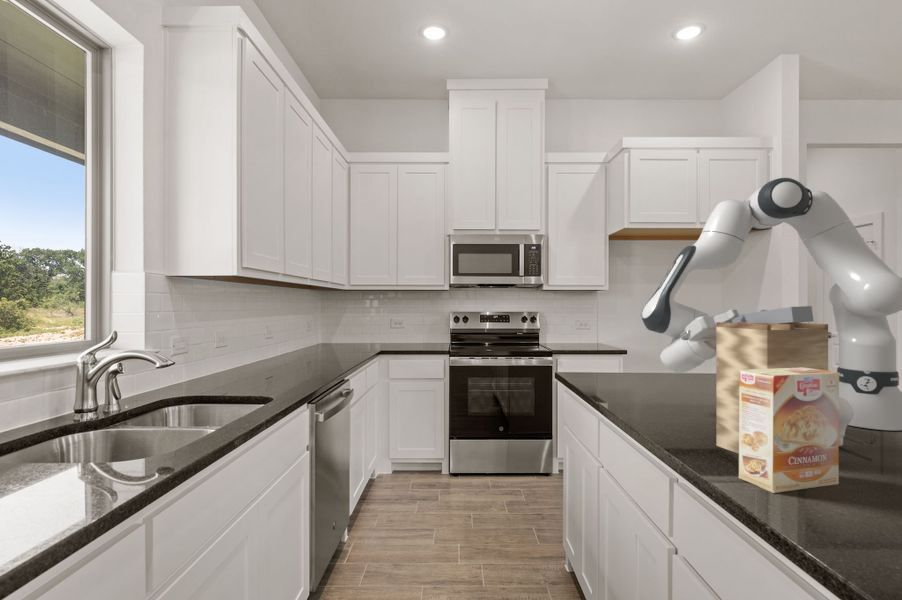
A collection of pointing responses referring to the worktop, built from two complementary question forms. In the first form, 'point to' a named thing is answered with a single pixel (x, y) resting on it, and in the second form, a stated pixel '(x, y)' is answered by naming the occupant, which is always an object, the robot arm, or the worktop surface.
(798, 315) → the grey rectangular bar
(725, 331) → the riser block
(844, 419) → the lightbulb
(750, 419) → the coffeecake box
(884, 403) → the robot arm
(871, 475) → the worktop surface
